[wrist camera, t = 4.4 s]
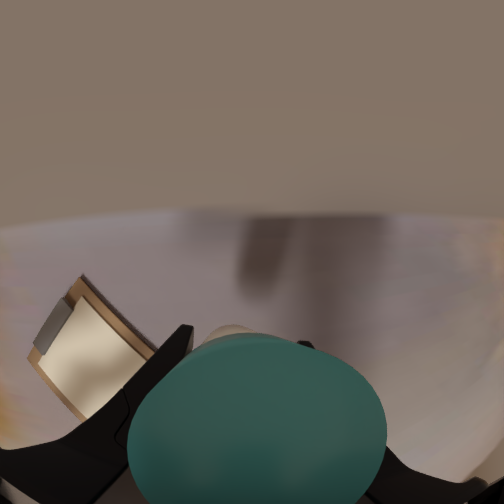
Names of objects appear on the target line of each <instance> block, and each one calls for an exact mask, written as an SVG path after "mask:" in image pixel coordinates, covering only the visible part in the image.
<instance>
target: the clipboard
mask: <svg viewBox="0 0 504 504" xmlns="http://www.w3.org/2000/svg"><path fill="white" fill-rule="evenodd" d="M33 344H34V347H33V348H32V350H31V352H30V354H29V356H28V357H27V359H28V361H29V362H30V363H31V365H32V366H33V367H34V369H35V370H36V371H37V373H38V374H39V375H40V376H41V378H42V379H43V380H44V381H45V383H46V384H47V385H48V386H49V387H50V389H51V390H52V391H53V392H54V393H55V394H56V396H57V397H58V398H59V399H60V400H61V401H62V402H63V403H64V404H65V405H66V406H67V408H68V409H69V410H70V411H71V412H72V413H73V414H74V415H75V416H76V417H77V418H78V419H79V420H80V421H81V422H82V423H83V422H84V421H85V420H87V419H88V418H89V417H90V416H92V415H93V414H94V413H95V412H97V411H98V410H99V409H100V408H101V407H103V406H104V405H105V404H106V403H107V402H108V401H109V400H110V399H111V398H112V397H113V396H114V395H115V394H116V393H117V392H118V391H119V390H120V389H121V388H123V386H124V385H125V384H126V382H127V381H128V380H129V379H130V378H131V377H132V376H133V375H134V374H135V373H136V372H137V371H138V370H139V369H140V368H141V367H142V366H143V365H144V363H145V362H146V361H147V360H148V359H149V358H150V357H151V356H152V355H153V354H154V353H155V351H153V350H152V349H151V348H150V347H149V346H148V345H147V344H146V343H144V342H143V341H142V340H141V339H140V338H139V337H138V336H137V335H136V334H135V333H134V332H133V331H132V330H130V329H129V328H128V327H127V326H126V325H125V324H124V323H123V322H122V321H121V320H120V319H119V318H118V317H117V316H116V315H115V314H114V313H113V312H112V311H111V310H110V309H109V308H108V307H107V306H106V305H105V303H104V302H103V301H102V300H101V299H100V298H99V297H98V296H97V295H96V294H95V293H94V292H93V291H92V289H91V288H90V287H89V286H88V285H87V284H86V283H85V282H84V280H83V279H82V278H81V277H79V278H78V279H77V281H76V282H75V283H74V285H73V286H72V288H71V289H70V290H69V292H68V293H67V295H66V296H65V298H62V297H61V299H60V300H59V302H58V303H57V305H56V306H55V308H54V309H53V311H52V312H51V314H50V315H49V317H48V318H47V320H46V322H45V323H44V325H43V327H42V328H41V330H40V331H39V333H38V335H37V337H36V338H35V340H34V342H33Z"/></svg>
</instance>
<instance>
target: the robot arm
mask: <svg viewBox="0 0 504 504" xmlns="http://www.w3.org/2000/svg"><path fill="white" fill-rule="evenodd" d="M193 338H194V327H193V326H191V325H185V324H182V325H181V326H180V327H179V328H178V329H177V330H176V331H175V332H174V333H173V334H172V335H171V336H170V337H169V338H168V339H167V340H166V341H165V342H164V343H163V345H162V346H161V347H160V348H159V349H158V350H157V351H156V352H155V353H154V354H153V355H152V356H151V357H150V358H149V359H148V360H147V361H146V362H145V363H144V365H143V366H142V367H141V368H140V369H139V370H138V371H137V372H136V373H135V374H134V375H133V376H132V377H131V378H130V379H129V380H128V381H127V382H126V384H125V385H124V386H123V388H121V389H120V390H119V391H118V392H117V393H116V394H115V395H114V396H113V397H112V398H111V399H110V400H109V401H108V402H107V403H106V404H105V405H104V406H103V407H101V408H100V409H99V410H98V411H97V412H95V413H94V414H93V415H92V416H90V417H89V418H88V419H87V420H85V421H84V422H83V423H82V424H80V425H79V426H78V427H77V428H75V429H74V430H73V431H71V432H70V433H69V434H67V435H66V436H64V437H62V438H60V439H58V440H55V441H51V442H47V443H43V444H39V445H34V446H29V447H25V448H19V449H14V450H5V449H2V448H1V447H0V504H150V503H149V502H148V501H147V500H146V499H145V497H144V496H143V494H142V493H141V491H140V490H139V488H138V487H137V485H136V483H135V480H134V478H133V476H132V473H131V470H130V466H129V462H128V453H127V442H128V433H129V429H130V426H131V422H132V419H133V417H134V415H135V413H136V411H137V409H138V407H139V405H140V404H141V403H142V401H143V400H144V398H145V397H146V396H147V394H148V393H149V392H150V391H151V390H152V389H153V388H154V387H155V386H156V385H157V384H158V383H159V382H160V381H161V380H162V379H163V378H164V377H165V376H166V375H167V374H168V373H169V372H170V371H171V370H172V369H173V368H174V367H175V366H176V365H177V364H178V363H179V362H180V361H181V360H182V359H183V358H184V357H185V356H187V355H188V354H189V353H190V352H192V348H193ZM297 344H300V345H303V346H306V347H309V348H312V349H315V348H314V347H313V345H312V344H311V343H310V342H309V341H301V340H300V341H298V342H297ZM315 350H316V349H315ZM355 504H504V476H503V477H501V478H499V479H498V480H496V481H494V482H492V483H490V484H489V485H488V483H487V482H486V481H485V480H483V479H481V478H478V477H473V478H471V479H469V480H467V481H465V482H463V483H454V482H449V481H446V480H442V479H439V478H436V477H432V476H429V475H426V474H423V473H420V472H417V471H414V470H412V469H410V468H409V467H407V466H406V465H405V464H403V463H402V462H401V461H400V460H399V459H398V458H397V457H396V455H395V454H394V453H393V452H392V451H391V450H390V449H389V448H388V447H387V446H386V449H385V453H384V457H383V460H382V463H381V465H380V468H379V470H378V473H377V474H376V476H375V478H374V480H373V481H372V483H371V485H370V486H369V487H368V489H367V490H366V491H365V493H364V494H363V495H362V496H361V498H360V499H359V500H358V501H357V502H356V503H355Z"/></svg>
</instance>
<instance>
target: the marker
mask: <svg viewBox="0 0 504 504" xmlns="http://www.w3.org/2000/svg"><path fill="white" fill-rule="evenodd" d="M386 441H387V423H386V418H385V413H384V410H383V407H382V404H381V402H380V399H379V397H378V396H377V394H376V392H375V391H374V389H373V387H372V386H371V385H370V384H369V383H368V381H367V380H366V379H365V378H364V377H363V376H362V375H361V374H360V373H359V372H357V371H356V370H355V369H354V368H353V367H351V366H350V365H348V364H346V363H345V362H343V361H342V360H340V359H338V358H336V357H334V356H331V355H329V354H327V353H324V352H322V351H319V350H315V349H312V348H309V347H306V346H303V345H300V344H297V343H294V342H291V341H288V340H285V339H282V338H279V337H276V336H273V335H267V334H262V333H257V332H255V331H253V330H250V329H248V328H246V327H243V326H240V325H225V326H222V327H220V328H218V329H216V330H214V331H213V332H212V333H211V334H210V335H209V336H208V337H207V339H206V340H205V341H204V342H203V343H202V344H201V345H200V346H199V347H197V348H196V349H194V350H193V351H192V352H190V353H189V354H188V355H187V356H185V357H184V358H183V359H182V360H181V361H180V362H179V363H178V364H177V365H176V366H175V367H174V368H173V369H172V370H171V371H170V372H169V373H168V374H167V375H166V376H165V377H164V378H163V379H162V380H161V381H160V382H159V383H158V384H157V385H156V386H155V387H154V388H153V389H152V390H151V391H150V392H149V393H148V394H147V396H146V397H145V398H144V400H143V401H142V403H141V404H140V405H139V407H138V409H137V411H136V413H135V415H134V417H133V419H132V422H131V426H130V429H129V433H128V442H127V453H128V462H129V466H130V470H131V473H132V476H133V478H134V480H135V483H136V485H137V487H138V488H139V490H140V491H141V493H142V494H143V496H144V497H145V499H146V500H147V501H148V502H149V503H150V504H355V503H356V502H357V501H358V500H359V499H360V498H361V496H362V495H363V494H364V493H365V491H366V490H367V489H368V487H369V486H370V485H371V483H372V481H373V480H374V478H375V476H376V474H377V473H378V470H379V468H380V465H381V463H382V460H383V457H384V453H385V449H386Z"/></svg>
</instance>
